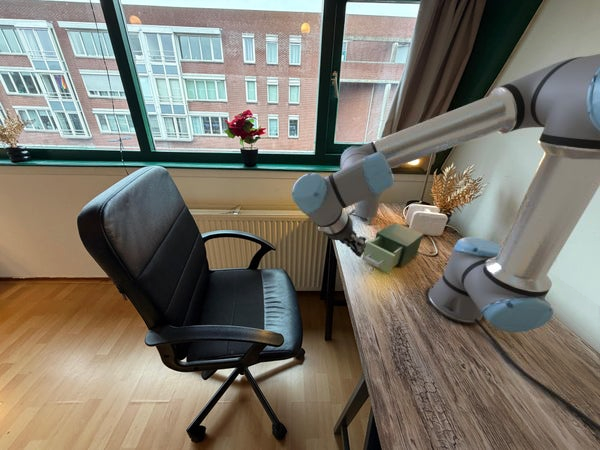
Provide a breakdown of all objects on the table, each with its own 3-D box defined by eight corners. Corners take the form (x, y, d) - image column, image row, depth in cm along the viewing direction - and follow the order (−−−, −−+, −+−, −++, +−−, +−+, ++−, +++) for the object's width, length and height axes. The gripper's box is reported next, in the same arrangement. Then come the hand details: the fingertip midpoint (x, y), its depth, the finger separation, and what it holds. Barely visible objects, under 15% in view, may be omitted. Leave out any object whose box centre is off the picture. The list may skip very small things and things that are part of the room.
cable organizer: (434, 227, 125) (441, 206, 119) (441, 238, 116) (449, 216, 110) (403, 223, 126) (409, 203, 121) (408, 233, 117) (415, 212, 112)
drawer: (382, 278, 86) (387, 260, 82) (355, 263, 93) (359, 245, 89) (405, 259, 97) (411, 243, 93) (380, 247, 104) (384, 231, 100)
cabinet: (400, 267, 93) (407, 246, 89) (371, 252, 101) (376, 232, 97) (416, 253, 102) (423, 234, 98) (389, 241, 110) (394, 222, 106)
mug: (383, 225, 124) (395, 177, 112) (355, 224, 123) (364, 176, 111) (371, 209, 140) (381, 166, 128) (346, 209, 139) (353, 165, 127)
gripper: (306, 223, 64) (338, 253, 82) (346, 245, 55) (371, 273, 74) (322, 199, 64) (350, 234, 83) (364, 218, 56) (384, 252, 75)
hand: (360, 252), depth 78 cm, fingers closed
